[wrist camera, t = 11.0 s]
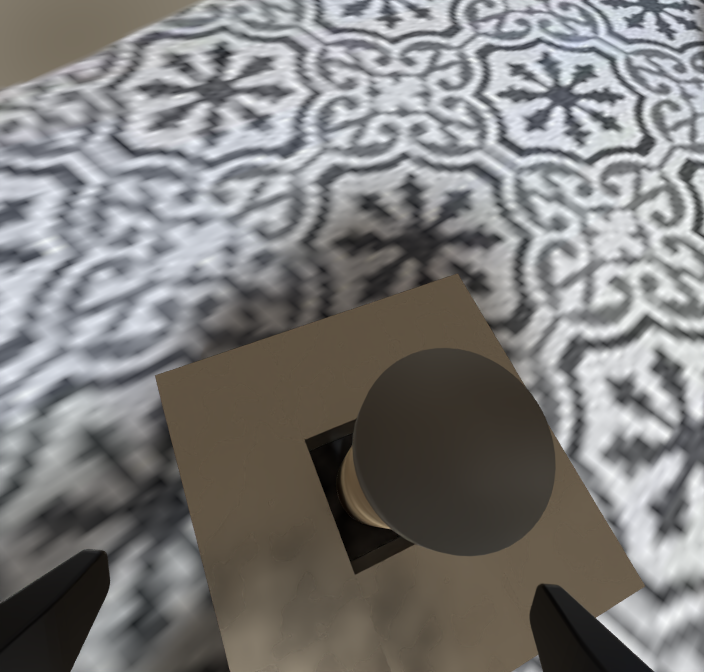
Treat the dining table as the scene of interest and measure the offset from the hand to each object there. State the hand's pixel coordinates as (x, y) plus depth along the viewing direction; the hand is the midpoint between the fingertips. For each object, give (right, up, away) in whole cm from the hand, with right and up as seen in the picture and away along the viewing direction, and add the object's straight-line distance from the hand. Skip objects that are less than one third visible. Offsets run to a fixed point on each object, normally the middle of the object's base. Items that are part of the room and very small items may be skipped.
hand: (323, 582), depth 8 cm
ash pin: (+2, -3, +13) cm, 13 cm away
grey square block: (+2, -2, +13) cm, 13 cm away
